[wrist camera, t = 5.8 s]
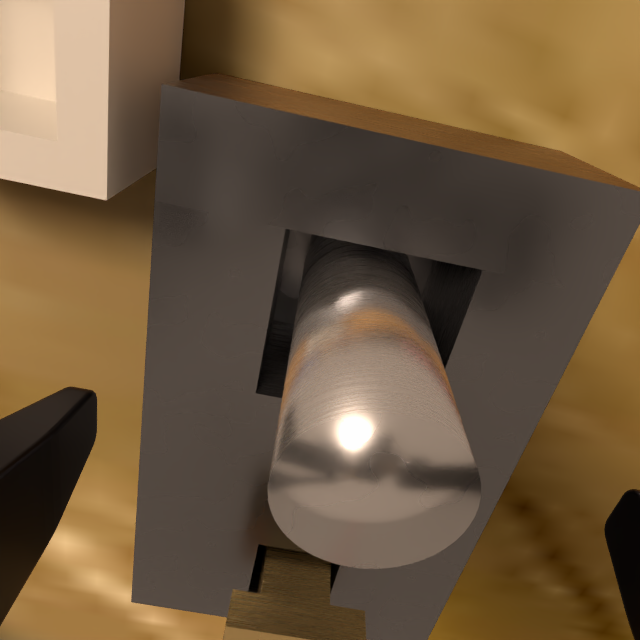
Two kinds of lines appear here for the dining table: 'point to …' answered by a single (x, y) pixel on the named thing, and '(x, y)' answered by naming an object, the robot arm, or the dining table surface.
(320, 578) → the plug block
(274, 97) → the socket block
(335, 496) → the silver metal cylinder
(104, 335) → the dining table surface
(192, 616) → the dining table surface
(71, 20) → the white open box
